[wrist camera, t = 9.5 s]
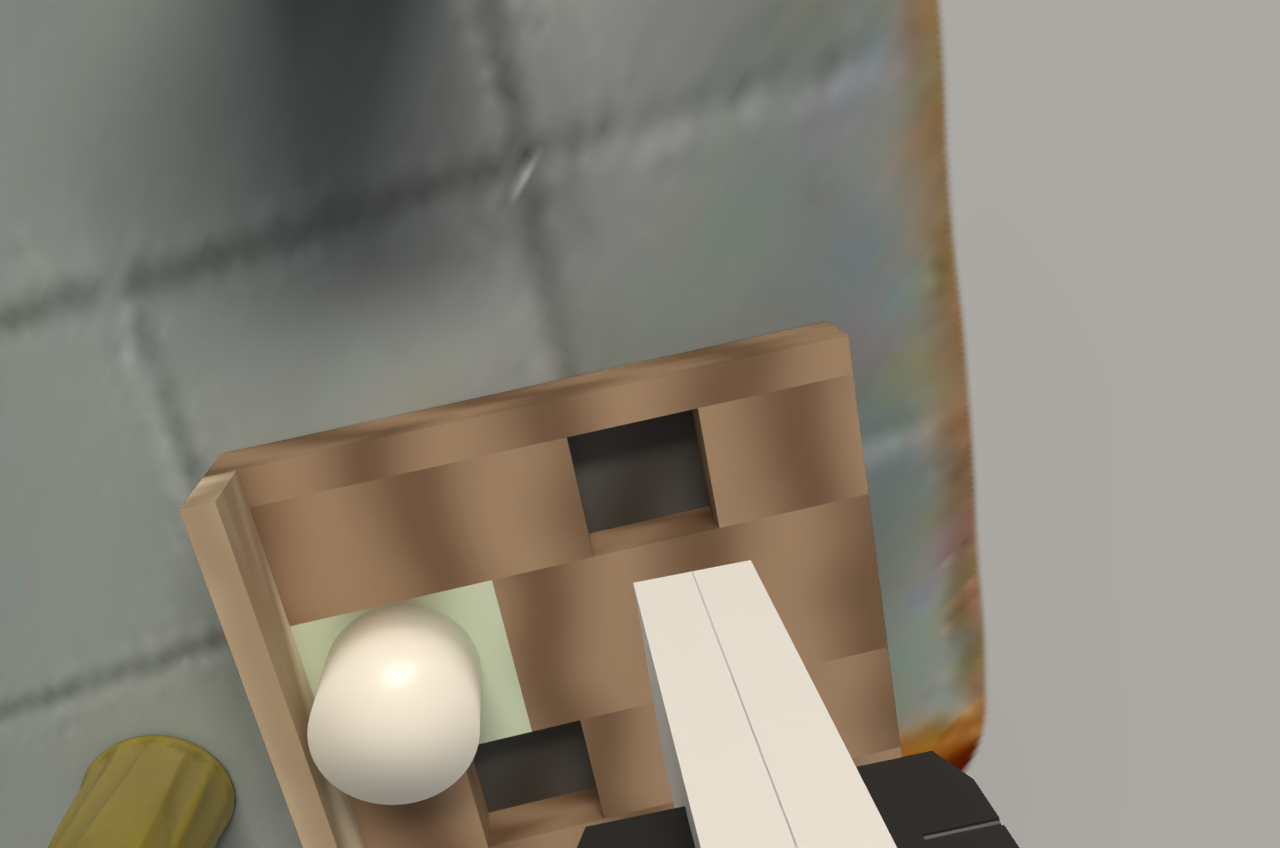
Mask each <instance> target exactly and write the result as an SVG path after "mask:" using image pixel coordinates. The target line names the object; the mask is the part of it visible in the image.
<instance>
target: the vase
mask: <svg viewBox="0 0 1280 848" xmlns="http://www.w3.org/2000/svg"><path fill="white" fill-rule="evenodd" d="M233 809H234V790H233V787H232V783H231V780H230V778H229V776H228V774H227V772H226V771H225V769H224V767H223V766H222V765H221V764H220V763H219V762H218V761H217V760H216V759H215V758H214V757H213V756H212V755H211V754H209V753H208V752H207V751H205V750H204V749H202V748H200V747H199V746H197V745H195V744H193V743H191V742H188V741H186V740H182V739H179V738H175V737H170V736H161V735H150V736H140V737H135V738H131V739H128V740H125V741H122V742H120V743H118V744H115V745H114V746H112V747H110V748H109V749H107V750H106V751H105V752H103V753H102V754H101V755H100V756H99V757H98V758H97V759H96V760H95V761H94V762H93V763H92V764H91V765H90V766H89V768H88V769H87V771H86V773H85V776H84V779H83V781H82V786H81V789H80V791H79V793H78V794H77V796H76V797H75V799H74V801H73V802H72V804H71V806H70V808H69V809H68V811H67V813H66V814H65V816H64V818H63V819H62V821H61V823H60V825H59V827H58V829H57V831H56V833H55V834H54V836H53V838H52V840H51V842H50V844H49V846H48V848H215V845H216V843H217V841H218V840H219V838H220V836H221V834H222V832H223V831H224V829H225V828H226V826H227V825H228V824H229V821H230V819H231V817H232V813H233Z"/></svg>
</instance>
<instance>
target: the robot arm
mask: <svg viewBox="0 0 1280 848" xmlns="http://www.w3.org/2000/svg"><path fill="white" fill-rule="evenodd" d="M633 585H634V590H635V596H636V602H637V608H638V614H639V620H640V626H641V631H642V637H643V643H644V649H645V655H646V661H647V666H648V672H649V678H650V684H651V690H652V696H653V702H654V707H655V713H656V719H657V725H658V731H659V737H660V743H661V748H662V754H663V760H664V766H665V770H666V774H667V778H668V783H669V787H670V791H671V796H672V800H673V804H674V808H673V809H668V810H663V811H659V812H654V813H649V814H644V815H639V816H635V817H630V818H625V819H620V820H616V821H611V822H606V823H601V824H596V825H592V826H587V827H585V830H584V832H583V834H582V837H581V839H580V841H579V844H578V846H577V848H1019V847H1018V845H1017V844H1016V842H1015V841H1014V839H1013V838H1012V836H1011V835H1010V833H1009V832H1008V830H1007V829H1006V827H1005V826H1004V825H1003V826H1002V825H1001V823H1000V821H999V817H998V815H997V814H996V812H995V811H994V809H993V808H992V806H991V805H990V803H989V802H988V800H987V799H986V797H985V796H984V794H983V793H982V791H981V790H980V788H979V787H978V785H977V784H976V782H975V781H974V779H972V778H971V777H969V776H968V775H967V774H965V773H964V772H962V771H961V770H959V769H958V768H956V767H955V766H953V765H952V764H950V763H949V762H947V761H946V760H945V759H943V758H942V757H940V756H939V755H937V754H936V753H934V752H933V751H929V752H924V753H920V754H915V755H910V756H905V757H900V758H896V759H891V760H886V761H881V762H876V763H872V764H867V765H862V766H857V767H856V766H855V764H854V762H853V760H852V758H851V756H850V754H849V752H848V750H847V748H846V746H845V744H844V742H843V740H842V739H841V737H840V735H839V733H838V731H837V729H836V727H835V725H834V723H833V721H832V719H831V717H830V715H829V713H828V711H827V709H826V707H825V705H824V703H823V701H822V699H821V697H820V695H819V693H818V691H817V689H816V687H815V685H814V684H813V682H812V680H811V678H810V676H809V674H808V672H807V670H806V668H805V666H804V664H803V662H802V660H801V658H800V656H799V654H798V652H797V650H796V648H795V646H794V644H793V642H792V640H791V638H790V636H789V634H788V632H787V630H786V628H785V627H784V625H783V623H782V621H781V619H780V617H779V615H778V613H777V611H776V609H775V607H774V605H773V603H772V601H771V599H770V597H769V595H768V593H767V591H766V589H765V587H764V585H763V583H762V581H761V579H760V577H759V575H758V573H757V572H756V570H755V568H754V566H753V564H752V562H751V560H748V561H743V562H738V563H733V564H728V565H723V566H717V567H712V568H707V569H702V570H697V571H692V572H687V573H681V574H676V575H671V576H666V577H661V578H656V579H650V580H645V581H640V582H635V583H633Z"/></svg>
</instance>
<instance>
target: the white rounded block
mask: <svg viewBox="0 0 1280 848" xmlns="http://www.w3.org/2000/svg"><path fill="white" fill-rule="evenodd" d="M480 710H481V662H480V657H479V654H478V651H477V648H476V646H475V644H474V642H473V641H472V639H471V638H470V636H469V635H468V634H467V632H466V631H465V630H464V629H463V628H462V627H461V626H460V625H459V624H457V623H456V622H455V621H454V620H452V619H450V618H449V617H447V616H446V615H444V614H441V613H439V612H437V611H434V610H431V609H428V608H424V607H419V606H411V605H395V606H388V607H383V608H379V609H376V610H373V611H371V612H368V613H366V614H364V615H362V616H360V617H358V618H357V619H355V620H354V621H353V622H351V623H350V624H348V625H347V626H346V627H345V628H344V629H343V630H342V631H341V632H340V634H339V635H338V636H337V638H336V639H335V640H334V642H333V644H332V646H331V648H330V650H329V653H328V655H327V658H326V662H325V665H324V669H323V672H322V676H321V679H320V682H319V686H318V689H317V693H316V696H315V700H314V703H313V707H312V710H311V713H310V717H309V722H308V730H307V738H308V746H309V750H310V753H311V756H312V758H313V760H314V763H315V764H316V766H317V768H318V769H319V771H320V772H321V773H322V774H323V776H324V777H325V778H326V779H327V780H328V781H329V782H330V783H331V784H333V785H334V786H335V787H337V788H338V789H339V790H341V791H342V792H344V793H346V794H348V795H350V796H352V797H354V798H357V799H360V800H363V801H366V802H370V803H375V804H382V805H401V804H409V803H415V802H418V801H422V800H425V799H428V798H430V797H433V796H435V795H437V794H439V793H441V792H442V791H444V790H446V789H447V788H448V787H450V786H451V785H453V784H454V783H455V782H456V781H457V780H458V779H459V778H460V777H461V776H462V775H463V774H464V773H465V771H466V770H467V769H468V767H469V766H470V764H471V762H472V761H473V758H474V756H475V754H476V751H477V748H478V744H479V737H480Z"/></svg>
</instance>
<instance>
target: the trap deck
mask: <svg viewBox="0 0 1280 848" xmlns="http://www.w3.org/2000/svg"><path fill="white" fill-rule="evenodd" d="M179 511H180V514H181V517H182V519H183V522H184V525H185V527H186V530H187V533H188V536H189V538H190V541H191V544H192V547H193V549H194V552H195V555H196V557H197V560H198V563H199V566H200V568H201V571H202V574H203V577H204V579H205V582H206V585H207V587H208V590H209V593H210V596H211V598H212V601H213V604H214V606H215V609H216V612H217V615H218V617H219V620H220V623H221V626H222V628H223V631H224V634H225V636H226V639H227V642H228V645H229V647H230V650H231V653H232V656H233V658H234V661H235V664H236V666H237V669H238V672H239V675H240V677H241V680H242V683H243V686H244V688H245V691H246V694H247V696H248V699H249V702H250V705H251V707H252V710H253V713H254V715H255V718H256V721H257V724H258V726H259V729H260V732H261V735H262V737H263V740H264V743H265V745H266V748H267V751H268V754H269V756H270V759H271V762H272V765H273V767H274V770H275V773H276V775H277V778H278V781H279V784H280V786H281V789H282V792H283V795H284V797H285V800H286V803H287V805H288V808H289V811H290V814H291V816H292V819H293V822H294V824H295V827H296V830H297V833H298V835H299V838H300V841H301V844H302V846H303V848H577V846H578V844H579V841H580V839H581V837H582V834H583V832H584V830H585V827H587V826H592V825H596V824H601V823H606V822H611V821H616V820H620V819H625V818H630V817H635V816H639V815H644V814H649V813H654V812H659V811H663V810H668V809H673V808H674V804H673V800H672V796H671V791H670V787H669V783H668V778H667V774H666V770H665V766H664V760H663V754H662V748H661V743H660V737H659V731H658V725H657V719H656V713H655V707H654V702H653V696H652V690H651V684H650V678H649V672H648V666H647V661H646V655H645V649H644V643H643V637H642V631H641V626H640V620H639V614H638V608H637V602H636V596H635V590H634V585H633V583H635V582H640V581H645V580H650V579H656V578H661V577H666V576H671V575H676V574H681V573H687V572H692V571H697V570H702V569H707V568H712V567H717V566H723V565H728V564H733V563H738V562H743V561H748V560H751V562H752V564H753V566H754V568H755V570H756V572H757V573H758V575H759V577H760V579H761V581H762V583H763V585H764V587H765V589H766V591H767V593H768V595H769V597H770V599H771V601H772V603H773V605H774V607H775V609H776V611H777V613H778V615H779V617H780V619H781V621H782V623H783V625H784V627H785V628H786V630H787V632H788V634H789V636H790V638H791V640H792V642H793V644H794V646H795V648H796V650H797V652H798V654H799V656H800V658H801V660H802V662H803V664H804V666H805V668H806V670H807V672H808V674H809V676H810V678H811V680H812V682H813V684H814V685H815V687H816V689H817V691H818V693H819V695H820V697H821V699H822V701H823V703H824V705H825V707H826V709H827V711H828V713H829V715H830V717H831V719H832V721H833V723H834V725H835V727H836V729H837V731H838V733H839V735H840V737H841V739H842V740H843V742H844V744H845V746H846V748H847V750H848V752H849V754H850V756H851V758H852V760H853V762H854V764H855V766H856V767H857V766H862V765H867V764H872V763H876V762H881V761H886V760H891V759H896V758H900V757H902V755H901V747H900V739H899V731H898V723H897V715H896V708H895V700H894V692H893V684H892V676H891V668H890V660H889V653H888V645H887V637H886V629H885V621H884V613H883V606H882V598H881V590H880V582H879V574H878V566H877V559H876V551H875V543H874V535H873V527H872V519H871V512H870V504H869V496H868V488H867V480H866V472H865V465H864V457H863V449H862V441H861V433H860V425H859V418H858V410H857V402H856V394H855V386H854V378H853V370H852V363H851V355H850V347H849V339H848V335H846V334H845V333H844V332H842V331H841V330H840V329H838V328H837V327H836V326H834V325H833V324H832V323H830V322H829V321H827V322H822V323H818V324H813V325H808V326H804V327H799V328H795V329H790V330H786V331H781V332H776V333H772V334H767V335H763V336H758V337H754V338H749V339H744V340H740V341H735V342H731V343H726V344H722V345H717V346H712V347H708V348H703V349H699V350H694V351H690V352H685V353H680V354H676V355H671V356H667V357H662V358H658V359H653V360H648V361H644V362H639V363H635V364H630V365H626V366H621V367H616V368H612V369H607V370H603V371H598V372H594V373H589V374H584V375H580V376H575V377H571V378H566V379H562V380H557V381H552V382H548V383H543V384H539V385H534V386H530V387H525V388H520V389H516V390H511V391H507V392H502V393H498V394H493V395H488V396H484V397H479V398H475V399H470V400H465V401H461V402H456V403H452V404H447V405H443V406H438V407H433V408H429V409H424V410H420V411H415V412H411V413H406V414H401V415H397V416H392V417H388V418H383V419H379V420H374V421H369V422H365V423H360V424H356V425H351V426H347V427H342V428H337V429H333V430H328V431H324V432H319V433H315V434H310V435H305V436H301V437H296V438H292V439H287V440H283V441H278V442H273V443H269V444H264V445H260V446H255V447H251V448H246V449H241V450H237V451H232V452H228V453H223V454H220V455H219V457H218V458H217V459H216V461H215V462H214V464H213V465H212V466H211V468H210V469H209V470H208V472H207V473H206V474H205V476H204V477H203V478H202V480H201V481H200V482H199V484H198V485H197V486H196V488H195V489H194V491H193V492H192V493H191V495H190V496H189V497H188V499H187V500H186V501H185V503H184V504H183V505H182V507H181V508H180V509H179ZM395 605H411V606H419V607H424V608H428V609H431V610H434V611H437V612H439V613H441V614H444V615H446V616H447V617H449V618H450V619H452V620H454V621H455V622H456V623H457V624H459V625H460V626H461V627H462V628H463V629H464V630H465V631H466V632H467V634H468V635H469V636H470V638H471V639H472V641H473V642H474V644H475V646H476V648H477V651H478V654H479V657H480V662H481V710H480V737H479V744H478V748H477V751H476V754H475V756H474V758H473V761H472V762H471V764H470V766H469V767H468V769H467V770H466V771H465V773H464V774H463V775H462V776H461V777H460V778H459V779H458V780H457V781H456V782H455V783H454V784H453V785H451V786H450V787H448V788H447V789H446V790H444V791H442V792H441V793H439V794H437V795H435V796H433V797H430V798H428V799H425V800H422V801H418V802H415V803H409V804H401V805H382V804H375V803H370V802H366V801H363V800H360V799H357V798H354V797H352V796H350V795H348V794H346V793H344V792H342V791H341V790H339V789H338V788H337V787H335V786H334V785H333V784H331V783H330V782H329V781H328V780H327V779H326V778H325V777H324V776H323V774H322V773H321V772H320V771H319V769H318V768H317V766H316V764H315V763H314V760H313V758H312V756H311V753H310V750H309V746H308V738H307V730H308V722H309V717H310V713H311V710H312V707H313V703H314V700H315V696H316V693H317V689H318V686H319V682H320V679H321V676H322V672H323V669H324V665H325V662H326V658H327V655H328V653H329V650H330V648H331V646H332V644H333V642H334V640H335V639H336V638H337V636H338V635H339V634H340V632H341V631H342V630H343V629H344V628H345V627H346V626H347V625H348V624H350V623H351V622H353V621H354V620H355V619H357V618H358V617H360V616H362V615H364V614H366V613H368V612H371V611H373V610H376V609H379V608H383V607H388V606H395Z"/></svg>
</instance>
